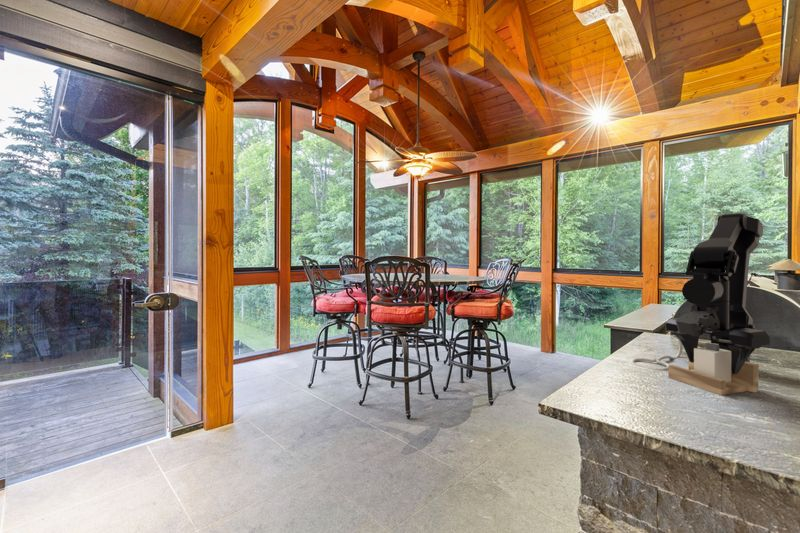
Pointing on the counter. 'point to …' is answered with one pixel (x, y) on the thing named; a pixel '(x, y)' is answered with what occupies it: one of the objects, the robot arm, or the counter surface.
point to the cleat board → (739, 382)
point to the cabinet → (713, 362)
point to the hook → (660, 358)
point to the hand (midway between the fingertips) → (712, 367)
